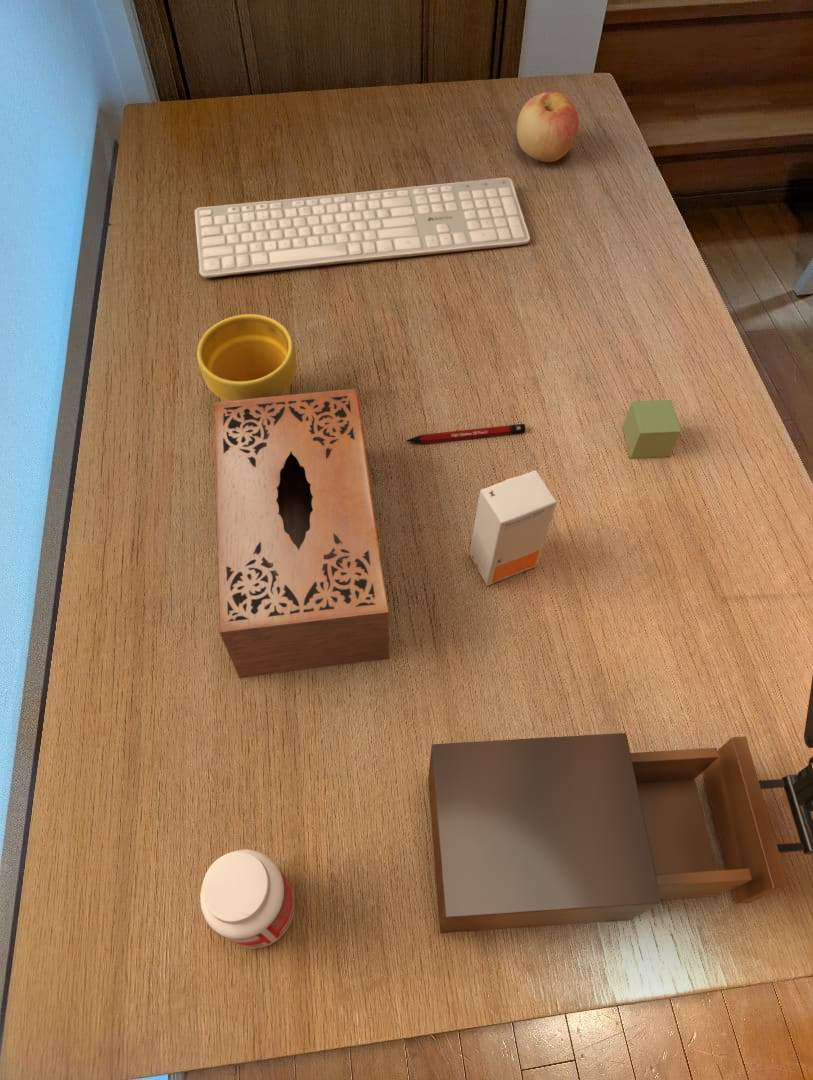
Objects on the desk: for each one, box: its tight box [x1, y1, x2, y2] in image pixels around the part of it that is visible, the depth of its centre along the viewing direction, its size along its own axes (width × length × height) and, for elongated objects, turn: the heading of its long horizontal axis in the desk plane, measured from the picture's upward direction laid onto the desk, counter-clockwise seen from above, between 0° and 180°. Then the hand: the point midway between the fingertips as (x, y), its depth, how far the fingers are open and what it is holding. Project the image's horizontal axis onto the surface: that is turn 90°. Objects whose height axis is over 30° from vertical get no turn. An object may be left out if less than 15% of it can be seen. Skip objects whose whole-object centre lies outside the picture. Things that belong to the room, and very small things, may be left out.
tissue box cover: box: [214, 387, 391, 678], centre depth 81 cm, size 26×14×10 cm, turn 8°
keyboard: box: [194, 177, 531, 279], centre depth 111 cm, size 44×12×2 cm, turn 100°
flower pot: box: [196, 313, 297, 402], centre depth 91 cm, size 10×10×10 cm
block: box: [621, 399, 682, 459], centre depth 91 cm, size 4×4×4 cm
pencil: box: [405, 423, 526, 445], centre depth 93 cm, size 1×14×1 cm, turn 98°
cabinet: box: [427, 732, 662, 934], centre depth 66 cm, size 16×13×10 cm
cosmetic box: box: [469, 470, 558, 587], centre depth 80 cm, size 6×4×12 cm
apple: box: [516, 91, 580, 163], centre depth 118 cm, size 9×9×8 cm
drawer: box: [630, 736, 813, 905], centre depth 66 cm, size 19×11×8 cm, turn 94°
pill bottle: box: [199, 848, 296, 949], centre depth 63 cm, size 6×6×11 cm
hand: (807, 794), depth 60 cm, fingers closed
